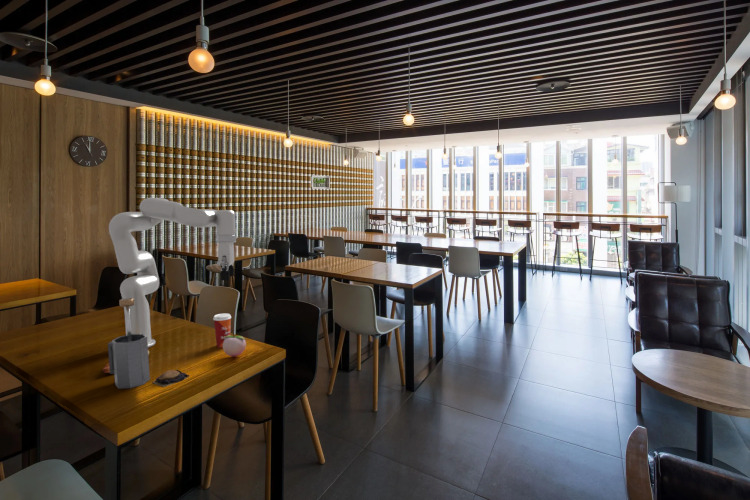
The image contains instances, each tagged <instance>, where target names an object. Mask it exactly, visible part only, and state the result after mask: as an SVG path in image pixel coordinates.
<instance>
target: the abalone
mask: <svg viewBox="0 0 750 500" xmlns="http://www.w3.org/2000/svg"><path fill="white" fill-rule="evenodd" d="M189 377H190V374H187V373H186V372H182V371H181V370H179V369H175V370H174V369H170V370H167V371H164V372H163V373H162V374H161V375H159V376H158V377H156V379H155V380H154V381H152V384H154V385H156V386H159V387H162V388H165V387H166V388H167V387H168V386H171V385H174V384H177V383H179V382H182V381H184V380H186V379H188V378H189Z"/></svg>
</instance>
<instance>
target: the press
mask: <svg viewBox="0 0 750 500" xmlns="http://www.w3.org/2000/svg"><path fill="white" fill-rule="evenodd" d="M131 335H132V342H128V336H127V335H126V334H125V335H122V336H118V337H116V338H114V339H112V340H111V341H110V342H108V343H107V351H108V362H109V366H110V373H109V374H111V375H114V384H115V387H117V389H132V388H135V387H139V386H143V385H145V384H146V383H147V382H148V381H150V379H151V377H150V361H149V355H148V350H149V347H148V345H147V336H146V335H144V334H131Z"/></svg>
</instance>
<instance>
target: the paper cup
mask: <svg viewBox="0 0 750 500" xmlns="http://www.w3.org/2000/svg"><path fill="white" fill-rule="evenodd" d="M231 319H232V316H231V314H230V313H218V314H215V315H214V316H213V318H212V320H213V324H214V325H213V326H214V334H215V340H216V341H215V342H216V347H217V348H219V349H223V342H224V340H225V339H226V338H227V337H226V338H224V337H225V336H229V335H231V326H232V325H231V324H232V323H231V321H232V320H231ZM223 338H224V339H223Z"/></svg>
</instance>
